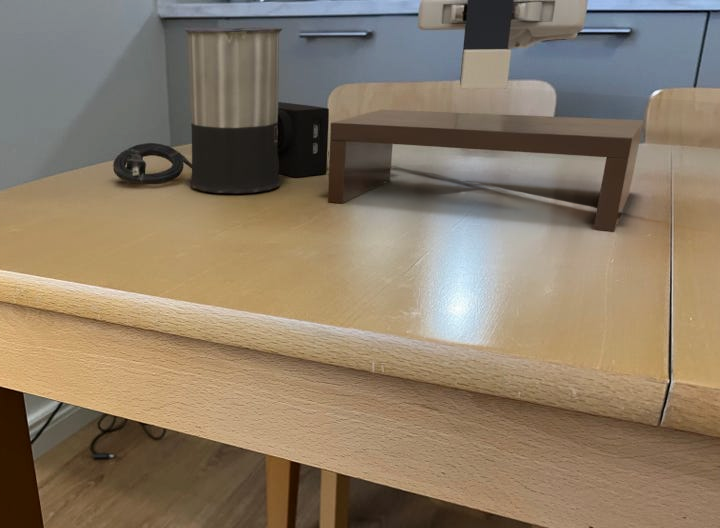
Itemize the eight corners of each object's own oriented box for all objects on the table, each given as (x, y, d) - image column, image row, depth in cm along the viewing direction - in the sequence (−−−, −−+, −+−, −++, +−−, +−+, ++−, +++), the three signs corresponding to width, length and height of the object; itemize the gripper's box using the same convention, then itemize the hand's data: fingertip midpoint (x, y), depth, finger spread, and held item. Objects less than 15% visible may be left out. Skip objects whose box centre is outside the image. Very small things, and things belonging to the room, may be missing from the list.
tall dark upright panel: (459, 82, 96) (472, -52, 90) (501, 82, 94) (516, -53, 88) (460, 88, 86) (475, -61, 80) (506, 88, 85) (524, -64, 79)
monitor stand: (376, 179, 79) (381, 109, 76) (627, 200, 68) (643, 120, 65) (327, 202, 69) (330, 122, 66) (614, 231, 58) (632, 137, 55)
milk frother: (295, 191, 73) (298, 25, 67) (137, 204, 69) (125, 27, 63) (245, 169, 86) (244, 27, 80) (107, 178, 81) (95, 28, 75)
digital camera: (235, 165, 88) (235, 102, 85) (274, 161, 90) (275, 100, 87) (285, 179, 80) (286, 110, 77) (326, 174, 82) (329, 107, 79)
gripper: (436, -10, 103) (404, -14, 92) (598, -17, 94) (583, -22, 83) (432, 40, 106) (400, 42, 95) (589, 38, 96) (574, 40, 85)
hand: (487, 12), depth 89 cm, fingers closed on tall dark upright panel, 5 cm apart
